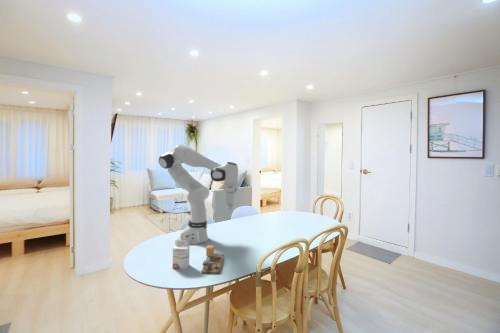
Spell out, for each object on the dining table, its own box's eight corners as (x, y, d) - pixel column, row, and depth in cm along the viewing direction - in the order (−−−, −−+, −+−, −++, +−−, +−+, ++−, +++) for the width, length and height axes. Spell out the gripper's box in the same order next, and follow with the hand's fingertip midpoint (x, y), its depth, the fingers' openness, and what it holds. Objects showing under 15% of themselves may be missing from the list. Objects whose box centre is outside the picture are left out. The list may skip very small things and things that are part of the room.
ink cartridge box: (172, 268, 138) (172, 243, 137) (174, 264, 143) (174, 239, 142) (187, 268, 138) (187, 243, 137) (189, 264, 143) (189, 240, 142)
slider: (206, 258, 148) (206, 247, 148) (207, 255, 152) (207, 245, 152) (219, 258, 148) (219, 248, 148) (220, 256, 152) (220, 245, 152)
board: (201, 273, 134) (201, 265, 133) (208, 255, 156) (208, 249, 155) (219, 273, 134) (219, 266, 133) (224, 256, 156) (224, 249, 155)
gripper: (227, 184, 170) (227, 204, 171) (224, 189, 149) (224, 212, 150) (236, 185, 170) (236, 204, 171) (235, 190, 149) (234, 212, 150)
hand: (230, 208), depth 160 cm, fingers open, 8 cm apart
